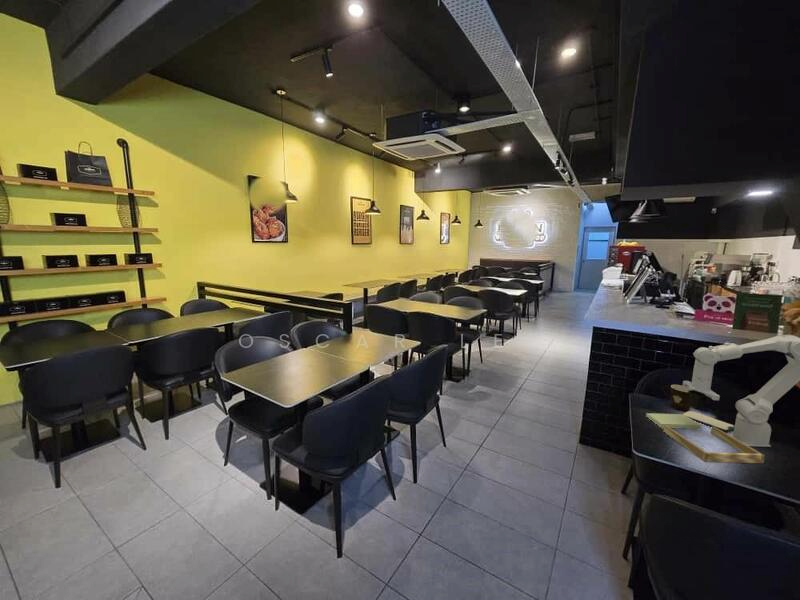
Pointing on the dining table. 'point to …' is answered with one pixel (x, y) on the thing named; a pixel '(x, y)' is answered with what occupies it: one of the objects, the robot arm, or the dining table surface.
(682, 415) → the cover plate
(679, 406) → the coffee mug
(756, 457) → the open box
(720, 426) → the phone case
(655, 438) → the dining table surface
